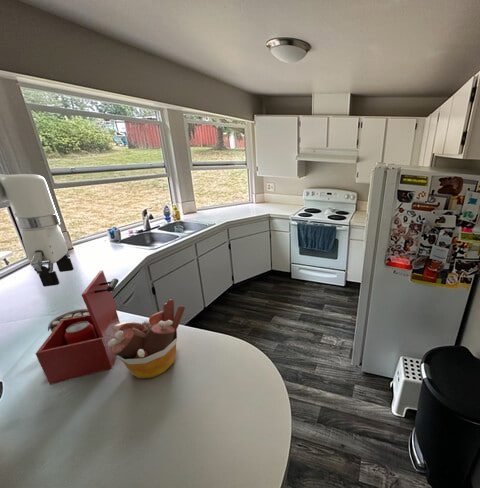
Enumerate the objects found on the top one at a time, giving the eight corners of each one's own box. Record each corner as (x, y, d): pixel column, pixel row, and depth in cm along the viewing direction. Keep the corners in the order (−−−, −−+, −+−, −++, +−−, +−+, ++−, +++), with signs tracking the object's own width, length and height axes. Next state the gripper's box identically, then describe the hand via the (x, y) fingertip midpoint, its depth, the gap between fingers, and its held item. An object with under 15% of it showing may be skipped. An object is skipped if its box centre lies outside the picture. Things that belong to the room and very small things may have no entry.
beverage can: (98, 345, 88) (88, 317, 84) (104, 354, 84) (94, 325, 80) (72, 357, 83) (60, 327, 79) (77, 367, 79) (65, 336, 75)
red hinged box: (49, 384, 74) (35, 353, 70) (72, 347, 88) (61, 319, 84) (111, 368, 80) (101, 338, 76) (123, 336, 94) (116, 309, 90)
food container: (100, 325, 99) (93, 304, 95) (102, 333, 95) (95, 311, 91) (56, 340, 91) (46, 317, 87) (56, 349, 87) (46, 326, 83)
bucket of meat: (138, 399, 71) (121, 343, 64) (107, 376, 77) (89, 322, 71) (200, 353, 87) (191, 304, 81) (170, 337, 94) (160, 291, 87)
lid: (81, 294, 70) (106, 289, 72) (99, 270, 84) (120, 267, 86) (99, 338, 76) (122, 332, 78) (114, 308, 90) (133, 304, 92)
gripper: (36, 215, 73) (56, 268, 79) (-2, 231, 59) (25, 294, 65) (70, 213, 76) (86, 264, 82) (41, 228, 62) (64, 289, 68)
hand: (59, 277), depth 73 cm, fingers open, 9 cm apart
